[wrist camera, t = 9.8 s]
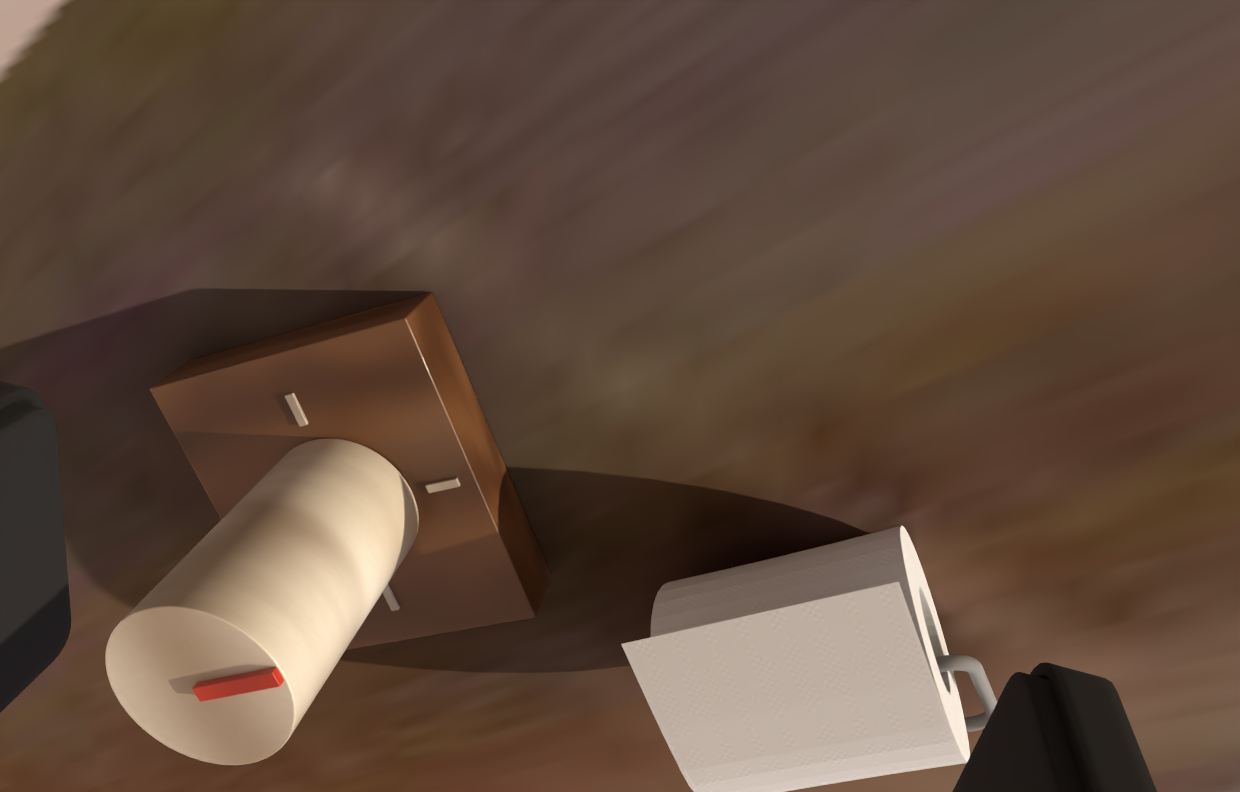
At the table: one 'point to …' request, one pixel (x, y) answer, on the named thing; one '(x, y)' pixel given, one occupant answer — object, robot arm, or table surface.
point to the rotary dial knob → (264, 605)
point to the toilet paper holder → (806, 670)
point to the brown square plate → (392, 427)
